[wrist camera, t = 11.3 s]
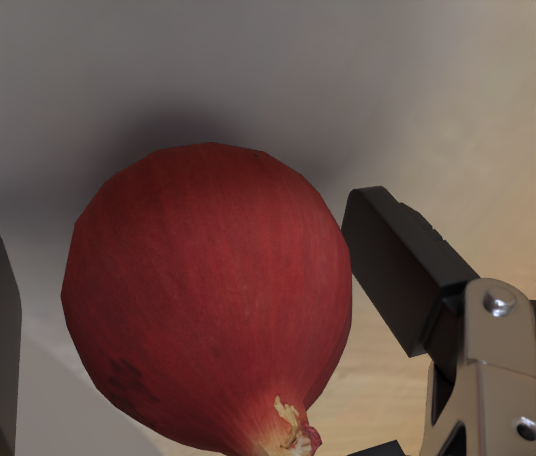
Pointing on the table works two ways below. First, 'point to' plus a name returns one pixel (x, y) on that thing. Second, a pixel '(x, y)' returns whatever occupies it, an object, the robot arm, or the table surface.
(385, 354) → the table surface
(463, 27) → the table surface
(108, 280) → the onion
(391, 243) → the robot arm
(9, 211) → the table surface
